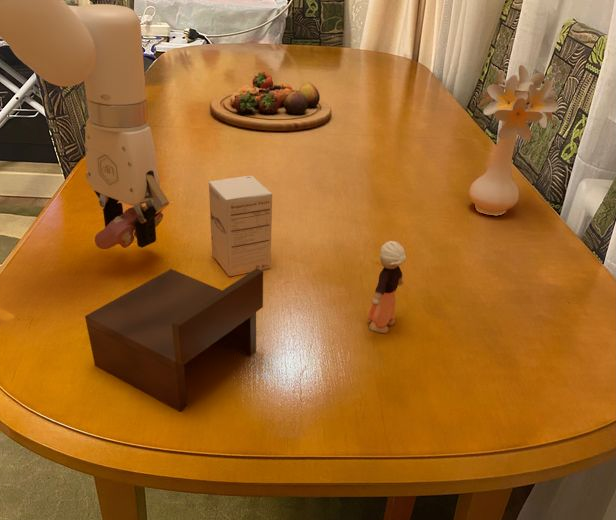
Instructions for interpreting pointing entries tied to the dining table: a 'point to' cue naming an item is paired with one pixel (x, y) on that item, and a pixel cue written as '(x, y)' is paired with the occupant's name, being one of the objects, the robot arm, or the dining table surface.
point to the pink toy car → (121, 230)
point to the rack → (172, 329)
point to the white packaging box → (240, 224)
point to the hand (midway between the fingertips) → (131, 236)
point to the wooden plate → (271, 106)
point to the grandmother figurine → (387, 287)
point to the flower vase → (511, 134)
